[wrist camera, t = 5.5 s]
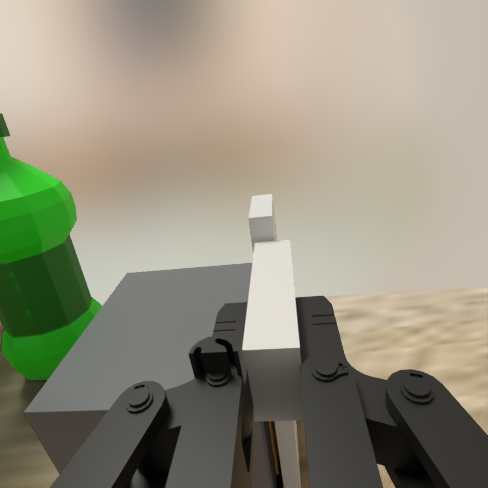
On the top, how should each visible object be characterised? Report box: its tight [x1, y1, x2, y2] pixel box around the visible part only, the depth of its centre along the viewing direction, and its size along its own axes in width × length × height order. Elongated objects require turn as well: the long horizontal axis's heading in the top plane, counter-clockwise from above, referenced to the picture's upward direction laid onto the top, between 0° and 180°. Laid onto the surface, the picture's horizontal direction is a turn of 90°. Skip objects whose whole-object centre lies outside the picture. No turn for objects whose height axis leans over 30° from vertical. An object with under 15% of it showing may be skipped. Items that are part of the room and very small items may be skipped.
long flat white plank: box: [249, 194, 301, 488], centre depth 20 cm, size 1×5×18 cm, turn 176°
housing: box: [24, 263, 279, 488], centre depth 26 cm, size 13×16×11 cm
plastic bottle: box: [0, 114, 102, 380], centre depth 32 cm, size 10×10×25 cm
